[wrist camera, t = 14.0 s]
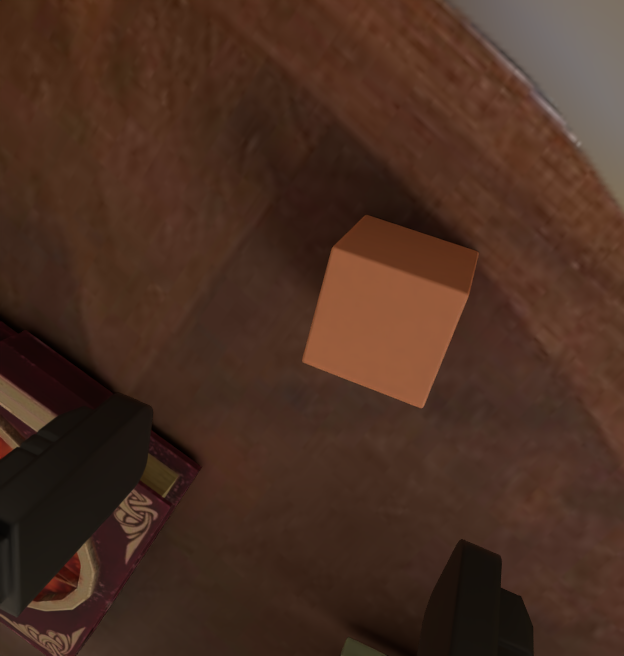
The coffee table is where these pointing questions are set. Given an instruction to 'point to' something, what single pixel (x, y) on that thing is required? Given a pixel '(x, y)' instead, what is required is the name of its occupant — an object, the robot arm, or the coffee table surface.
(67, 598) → the book
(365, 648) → the drawer
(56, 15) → the coffee table surface
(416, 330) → the block
